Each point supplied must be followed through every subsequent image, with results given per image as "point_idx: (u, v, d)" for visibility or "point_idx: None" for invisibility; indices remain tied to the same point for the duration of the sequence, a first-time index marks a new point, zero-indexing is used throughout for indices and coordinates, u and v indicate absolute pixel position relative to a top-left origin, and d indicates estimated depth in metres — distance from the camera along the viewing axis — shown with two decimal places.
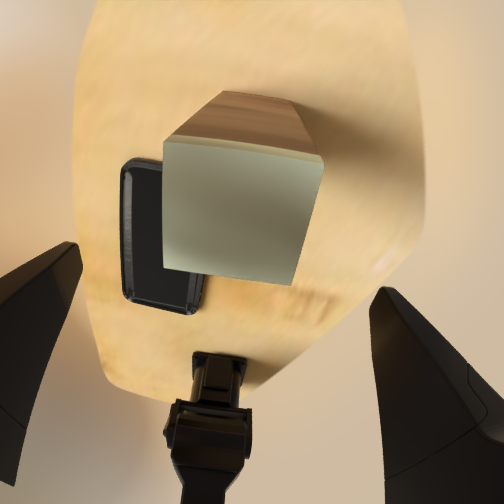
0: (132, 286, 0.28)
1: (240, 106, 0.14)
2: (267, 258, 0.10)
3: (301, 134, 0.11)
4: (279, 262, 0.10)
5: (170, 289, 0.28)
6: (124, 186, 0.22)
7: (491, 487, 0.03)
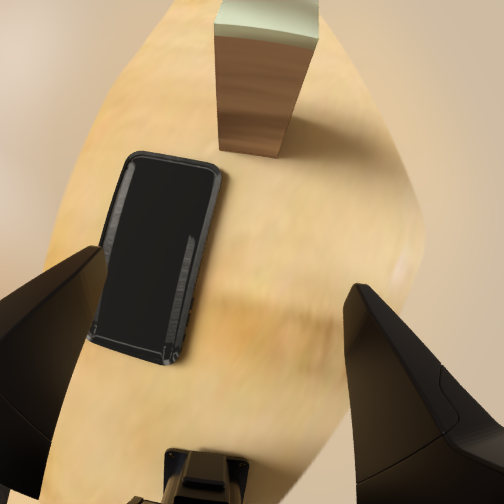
0: (96, 315, 0.20)
1: None
2: (296, 20, 0.11)
3: None
4: (305, 23, 0.11)
5: (146, 319, 0.20)
6: (124, 176, 0.22)
7: (459, 501, 0.03)
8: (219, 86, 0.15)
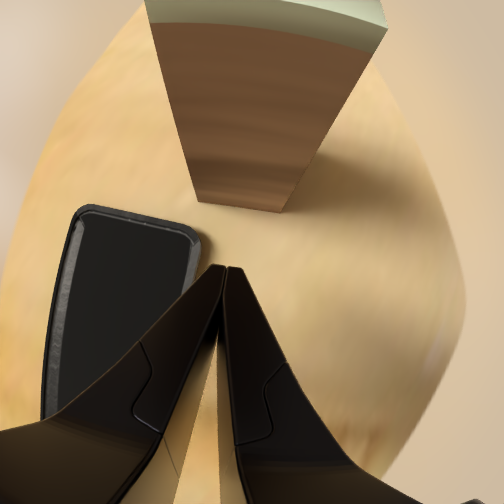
0: None
1: None
2: None
3: None
4: None
5: None
6: (71, 241, 0.15)
7: None
8: (180, 120, 0.08)
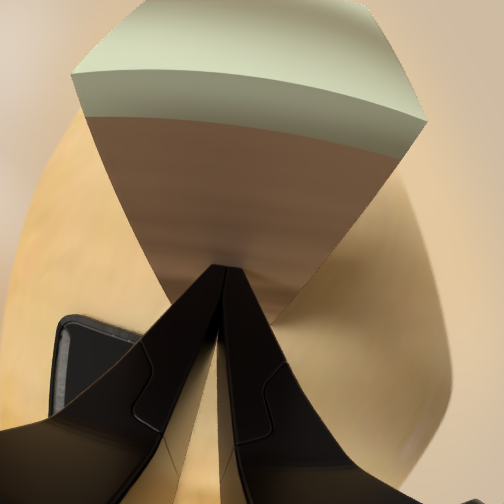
0: None
1: None
2: (344, 56, 0.03)
3: None
4: (372, 68, 0.03)
5: None
6: (59, 349, 0.14)
7: None
8: (144, 241, 0.07)
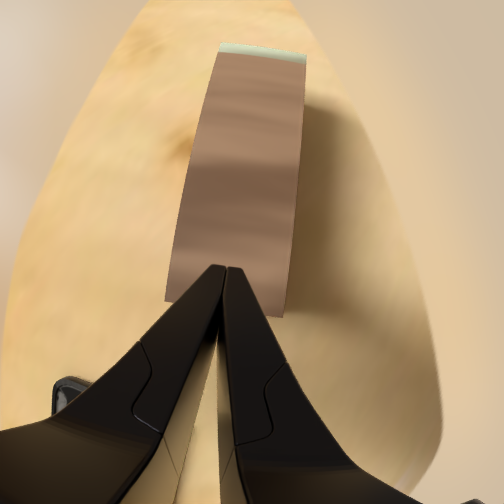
0: None
1: None
2: None
3: None
4: None
5: None
6: (57, 408, 0.13)
7: None
8: (205, 110, 0.12)
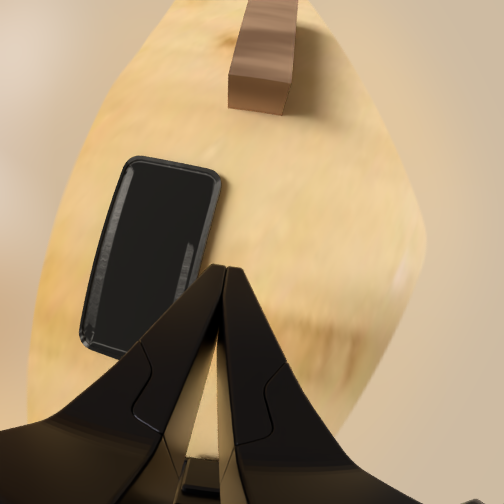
0: (94, 321, 0.20)
1: None
2: None
3: None
4: None
5: (144, 326, 0.20)
6: (122, 181, 0.21)
7: None
8: (247, 12, 0.20)
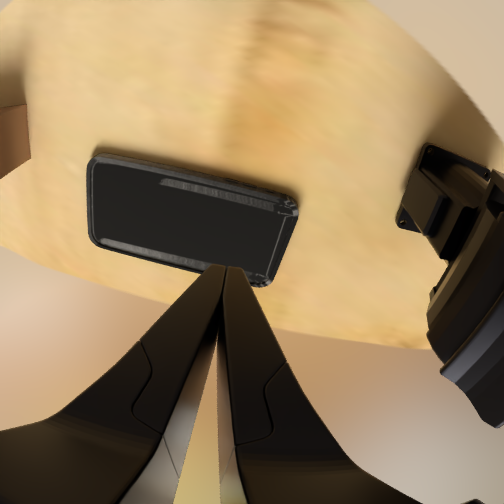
0: (246, 272, 0.23)
1: None
2: None
3: None
4: None
5: (248, 227, 0.21)
6: (113, 247, 0.23)
7: None
8: None
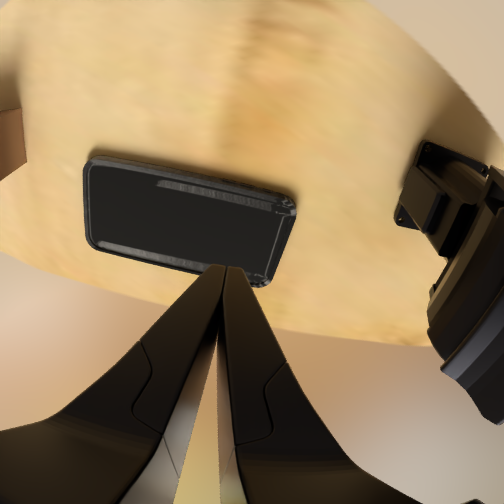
0: (245, 273, 0.23)
1: None
2: None
3: None
4: None
5: (246, 228, 0.21)
6: (111, 249, 0.22)
7: None
8: None
